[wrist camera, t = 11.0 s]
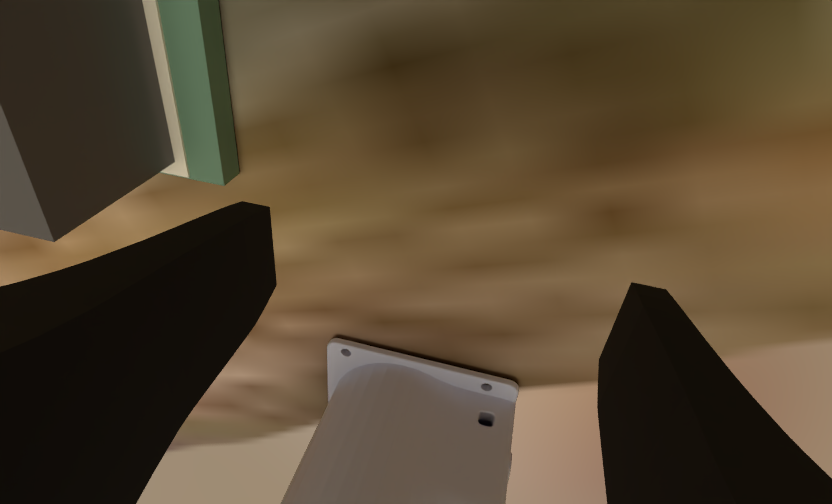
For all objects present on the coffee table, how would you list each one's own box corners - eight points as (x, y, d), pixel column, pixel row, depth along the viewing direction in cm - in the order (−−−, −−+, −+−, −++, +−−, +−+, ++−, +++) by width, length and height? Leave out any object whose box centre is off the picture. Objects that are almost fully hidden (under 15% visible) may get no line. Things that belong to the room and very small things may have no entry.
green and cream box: (203, -119, 16) (86, -126, 12) (239, 173, 22) (168, 232, 18) (-17, -144, 17) (-188, -158, 13) (73, 140, 23) (-28, 188, 19)
